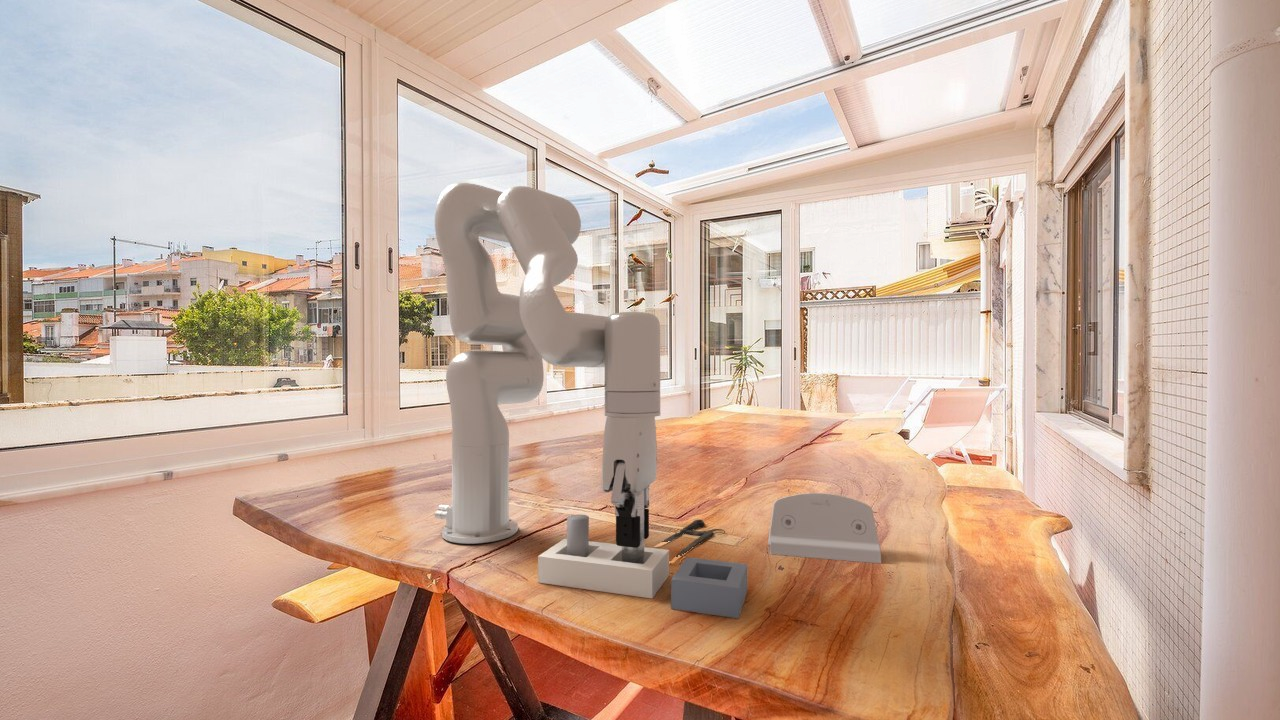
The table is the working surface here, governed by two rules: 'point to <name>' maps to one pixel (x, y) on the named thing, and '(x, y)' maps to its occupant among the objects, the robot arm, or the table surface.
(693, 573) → the socket block
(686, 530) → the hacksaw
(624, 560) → the grey peg
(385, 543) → the table surface
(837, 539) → the grey wall bracket
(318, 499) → the table surface
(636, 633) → the table surface
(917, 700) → the table surface
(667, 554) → the rack
